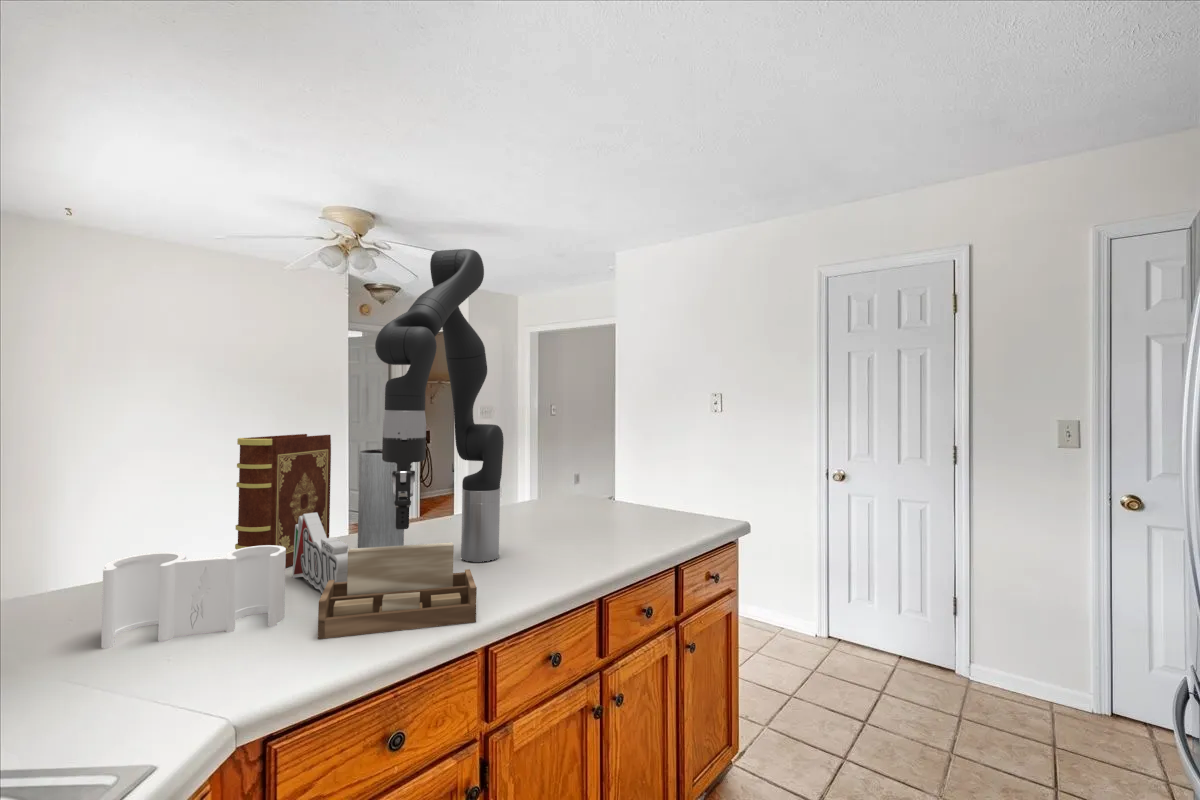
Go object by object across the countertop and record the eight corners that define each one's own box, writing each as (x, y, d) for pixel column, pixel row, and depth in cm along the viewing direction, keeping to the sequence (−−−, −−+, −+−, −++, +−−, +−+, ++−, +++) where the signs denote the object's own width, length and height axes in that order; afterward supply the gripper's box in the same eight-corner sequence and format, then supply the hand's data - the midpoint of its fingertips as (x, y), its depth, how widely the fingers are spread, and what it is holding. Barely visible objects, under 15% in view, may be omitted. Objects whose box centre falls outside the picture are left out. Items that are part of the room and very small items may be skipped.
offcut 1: (335, 627, 95) (335, 601, 95) (373, 623, 97) (373, 597, 97) (332, 634, 92) (333, 606, 92) (372, 629, 94) (372, 603, 94)
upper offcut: (383, 606, 97) (383, 594, 97) (419, 603, 99) (419, 592, 99) (382, 611, 95) (382, 599, 95) (419, 608, 96) (419, 596, 96)
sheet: (347, 615, 100) (349, 548, 100) (451, 605, 106) (452, 542, 106) (346, 620, 98) (347, 552, 98) (452, 610, 103) (453, 545, 104)
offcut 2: (430, 617, 100) (430, 595, 100) (459, 614, 101) (459, 592, 101) (430, 623, 97) (431, 600, 97) (460, 620, 99) (460, 597, 99)
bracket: (287, 608, 103) (289, 542, 103) (280, 627, 94) (282, 555, 95) (118, 627, 94) (120, 554, 94) (92, 650, 85) (94, 570, 85)
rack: (328, 613, 101) (328, 580, 101) (469, 600, 109) (469, 569, 109) (317, 639, 90) (318, 601, 90) (475, 622, 98) (476, 587, 98)
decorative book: (259, 578, 120) (262, 439, 120) (228, 575, 122) (231, 438, 122) (329, 552, 142) (332, 434, 142) (302, 549, 144) (305, 433, 144)
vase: (408, 569, 128) (410, 451, 128) (362, 576, 123) (364, 453, 123) (397, 559, 136) (399, 448, 137) (353, 565, 131) (355, 450, 131)
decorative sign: (349, 611, 108) (354, 535, 107) (334, 615, 106) (339, 537, 105) (305, 574, 124) (309, 507, 123) (292, 576, 122) (296, 509, 121)
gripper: (384, 433, 108) (382, 517, 107) (380, 437, 94) (378, 533, 94) (425, 433, 110) (423, 515, 110) (427, 437, 97) (425, 531, 96)
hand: (402, 523), depth 102 cm, fingers open, 8 cm apart
